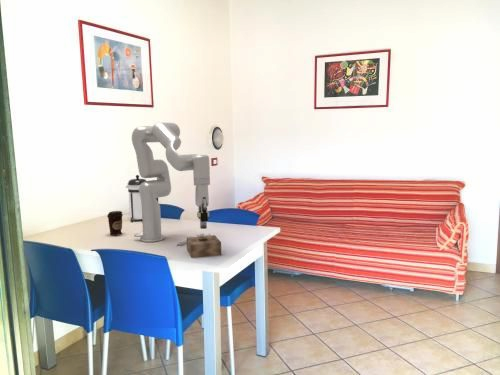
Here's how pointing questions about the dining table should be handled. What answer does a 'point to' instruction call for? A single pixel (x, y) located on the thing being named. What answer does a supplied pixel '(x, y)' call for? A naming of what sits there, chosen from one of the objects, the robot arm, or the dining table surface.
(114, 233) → the coffee cup
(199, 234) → the adjustable wrench
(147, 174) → the robot arm
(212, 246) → the pin block
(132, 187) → the coffee press
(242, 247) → the dining table surface
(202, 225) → the pin
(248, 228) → the dining table surface
